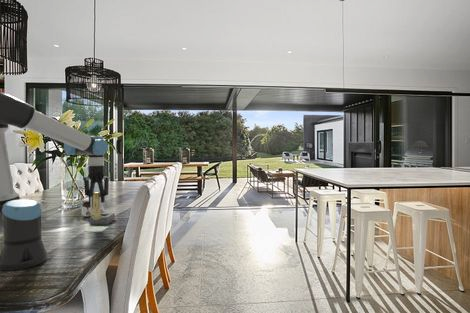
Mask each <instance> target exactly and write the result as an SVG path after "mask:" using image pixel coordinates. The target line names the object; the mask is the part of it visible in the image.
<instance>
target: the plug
mask: <svg viewBox="0 0 470 313" xmlns="http://www.w3.org/2000/svg"><path fill="white" fill-rule="evenodd" d="M100 196H101V195H100V191H94V192H93V219H94V220H97V219H101V209H99V197H100Z"/></svg>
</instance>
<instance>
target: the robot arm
mask: <svg viewBox="0 0 470 313" xmlns="http://www.w3.org/2000/svg"><path fill="white" fill-rule="evenodd" d="M9 126H13V127H16V128H19V129H25V128H26V129H29V130H31V131H33V132H36V133H38V134H40V135H43V136H45V137H47V138H50V139H53V140H54V141H55V140H56V141H59V142H60V143H63V150H64V152H65V153H66V155H70V156H71V155H72V156H74V155H77V156H78V155H79V156H80V155H82V156H83V155H84V156H85V155H87V157H88V159H87V161H88V175H86V176H84V177H82V180H83V184H84V195H85V196H87V197H88V198H89V203H91V209H93V193H94V192H95V191H94V190H95V187H96V186H95V185H96V183H97V185H98V190H99V191H98V192H100V195H101V196H100V197H99V209H102V208H103V207H104V203H105V197H107V196H108V195H109V188H110V187H109V185H110V184H109V183H110V182H109V181H110V179H111V178H110V176H106V175H105V165H104V164H105V154H106V153H107V152H108V150H109V145H108V142H107V141H106V140H104V139H105V138H104V136H101V135H100V136H98V135H88V134H87V133H84V132H83V131H82V132H81V131H79V130H78V129H76V128H74V127H72V126H69V125H68V124H65V123H63V122H61V121H58V120H57V119H54V118H52V117H50V116H48V115H46V114H44V113H42V112H40V111H38V110H36V107H35V106H33V105H32V104H29V103H27V102H25V101H23V100H20V99H19V98H17V97H15V96H12V95H10V94H8V93H4V92H0V232H1V233H2V236H3V237H2V238H3V246H2V249H1V251H0V270H1V271H4V272H5V271H6V272H7V271H8V272H9V271H18V270H25V269H29V268H33V267H35V266H39V265H40V264H42V263H44V262H45V261H47V259H48V251H47V250H46V247H45V245H44V242H43V239H42V213H43V212H42V211H43V210H42V206H41V203H40V202H38V201H37V200H34V199H27V198H26V199H24V198H20V197H21V196H20V193H17V192H16V191H15V189H14V184H13V179H12V172H11V171H12V170H11V165H10V164H11V163H10V160H9V159H10V158H9V153H8V146H7V141H6V133H5V132H6V131H8V129H9ZM89 180H90V181H89ZM103 181H104V182H103Z"/></svg>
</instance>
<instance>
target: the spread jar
mask: <svg viewBox="0 0 470 313" xmlns="http://www.w3.org/2000/svg"><path fill="white" fill-rule="evenodd" d="M101 213H106V209H105V207H104V206H103V208H102V209H101ZM81 215H82V217H84V218H85V219H87V218H88V219H90V217H91V216H93V209H91V203H89V197H86V198H84V202H82V204H81Z"/></svg>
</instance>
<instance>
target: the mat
mask: <svg viewBox="0 0 470 313" xmlns="http://www.w3.org/2000/svg"><path fill="white" fill-rule="evenodd" d="M107 229H109V226H100V225H99V226H90V227H89V228H88V229H85V230H84V231H83V232H84V233H102V232H104V231H106V230H107Z"/></svg>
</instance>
